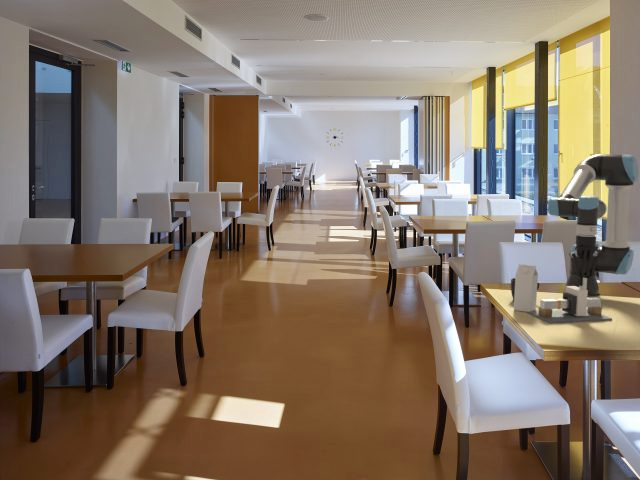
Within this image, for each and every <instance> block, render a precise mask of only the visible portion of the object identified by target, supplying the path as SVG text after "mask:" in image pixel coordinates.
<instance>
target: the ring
mask: <svg viewBox="0 0 640 480" xmlns="http://www.w3.org/2000/svg"><path fill="white" fill-rule="evenodd" d="M567 298H571V309H569V308H563V309H561V310H563V311H565V312H568V313H570V314H576V304H577V296H575V295H572V294H569V293H565V292H563V293H562V299H567Z"/></svg>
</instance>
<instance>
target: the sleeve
mask: <svg viewBox="0 0 640 480" xmlns="http://www.w3.org/2000/svg"><path fill="white" fill-rule="evenodd" d="M564 293H569V294H572V295H575V296H577V304H576V314H573V315H575V316H586V309H588V307H587V298H588V296H589V295H588V290H585V289H582V288H579V287H576V286H566V290H565V289H564ZM569 309H571V308H569Z"/></svg>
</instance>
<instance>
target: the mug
mask: <svg viewBox="0 0 640 480" xmlns="http://www.w3.org/2000/svg"><path fill="white" fill-rule="evenodd" d="M539 288H540V283H539V282H537V291H538V290H539ZM510 291H511V296H512V300H513V302H514V294H515V277H512V278H511V279H510Z"/></svg>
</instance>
